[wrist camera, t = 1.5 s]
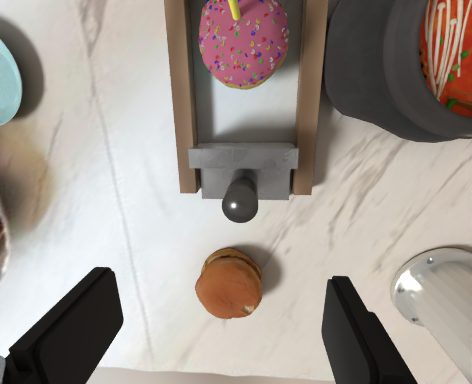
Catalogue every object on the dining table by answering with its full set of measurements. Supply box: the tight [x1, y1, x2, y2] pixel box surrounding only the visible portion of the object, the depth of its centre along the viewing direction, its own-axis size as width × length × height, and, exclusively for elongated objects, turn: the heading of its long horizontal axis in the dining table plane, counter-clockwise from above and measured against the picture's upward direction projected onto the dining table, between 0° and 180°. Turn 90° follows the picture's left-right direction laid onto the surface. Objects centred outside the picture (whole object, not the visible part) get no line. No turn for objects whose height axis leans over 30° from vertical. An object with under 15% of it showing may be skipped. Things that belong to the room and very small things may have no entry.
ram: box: [188, 142, 299, 223], centre depth 26 cm, size 11×7×10 cm, turn 91°
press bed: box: [164, 0, 328, 195], centre depth 25 cm, size 16×24×6 cm, turn 1°
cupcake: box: [198, 0, 289, 89], centre depth 21 cm, size 9×8×12 cm
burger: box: [195, 248, 262, 319], centre depth 34 cm, size 10×9×5 cm
